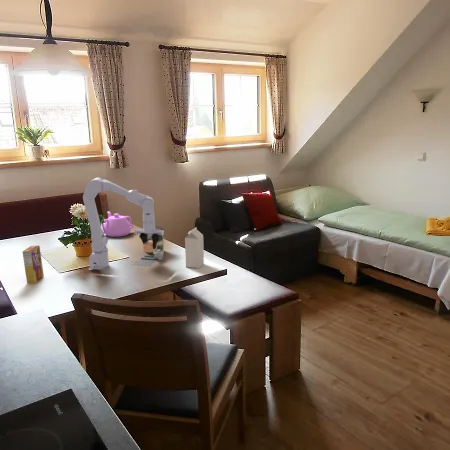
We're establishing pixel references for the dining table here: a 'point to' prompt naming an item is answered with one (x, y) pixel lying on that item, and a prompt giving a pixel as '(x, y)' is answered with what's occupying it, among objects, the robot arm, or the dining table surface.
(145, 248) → the cover
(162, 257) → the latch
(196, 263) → the milk carton
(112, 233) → the teapot
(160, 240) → the coffee can
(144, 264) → the board
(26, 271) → the candy box
